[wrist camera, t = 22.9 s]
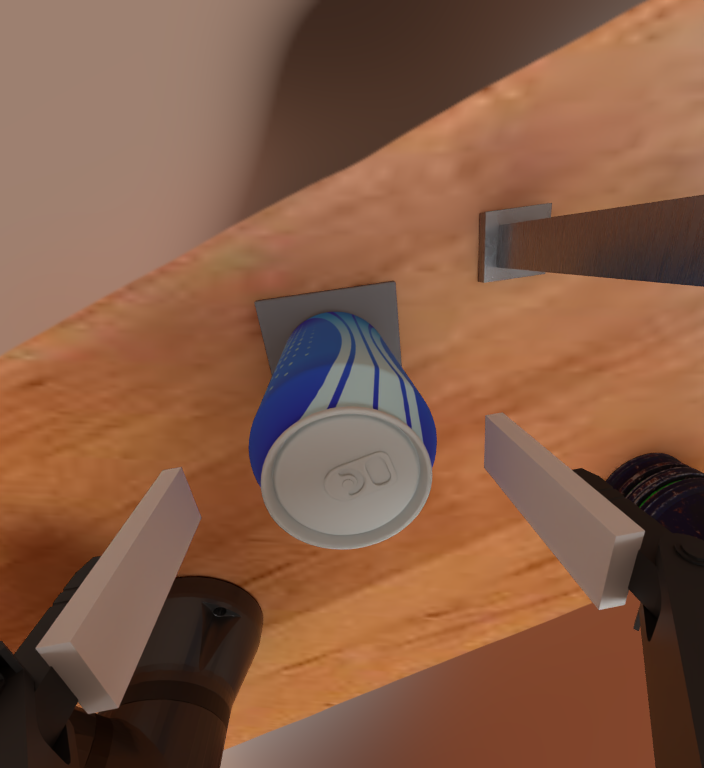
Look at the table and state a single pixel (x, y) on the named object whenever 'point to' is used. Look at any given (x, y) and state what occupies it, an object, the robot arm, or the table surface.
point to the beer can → (342, 437)
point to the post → (597, 242)
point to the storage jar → (664, 491)
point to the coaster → (361, 301)
